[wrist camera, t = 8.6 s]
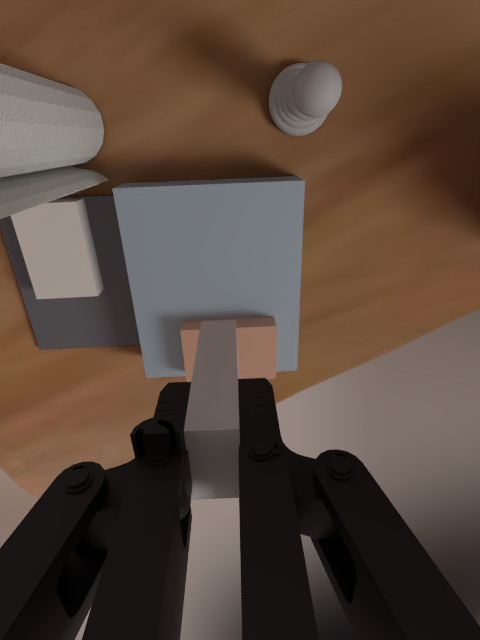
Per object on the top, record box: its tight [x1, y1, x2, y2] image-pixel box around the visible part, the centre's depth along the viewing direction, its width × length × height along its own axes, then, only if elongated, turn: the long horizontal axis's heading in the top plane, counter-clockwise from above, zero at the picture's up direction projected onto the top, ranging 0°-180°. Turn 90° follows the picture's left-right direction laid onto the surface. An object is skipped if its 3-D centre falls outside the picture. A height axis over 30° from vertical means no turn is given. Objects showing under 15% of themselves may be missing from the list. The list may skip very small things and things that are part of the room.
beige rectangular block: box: [11, 198, 104, 299], centre depth 35 cm, size 6×9×2 cm, turn 3°
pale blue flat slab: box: [112, 176, 305, 378], centre depth 36 cm, size 16×19×4 cm
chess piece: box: [269, 60, 342, 136], centre depth 28 cm, size 5×5×9 cm
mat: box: [0, 195, 140, 350], centre depth 38 cm, size 12×16×1 cm
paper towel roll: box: [0, 63, 108, 219], centre depth 22 cm, size 7×6×21 cm
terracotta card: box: [180, 317, 277, 382], centre depth 36 cm, size 9×6×2 cm, turn 92°
